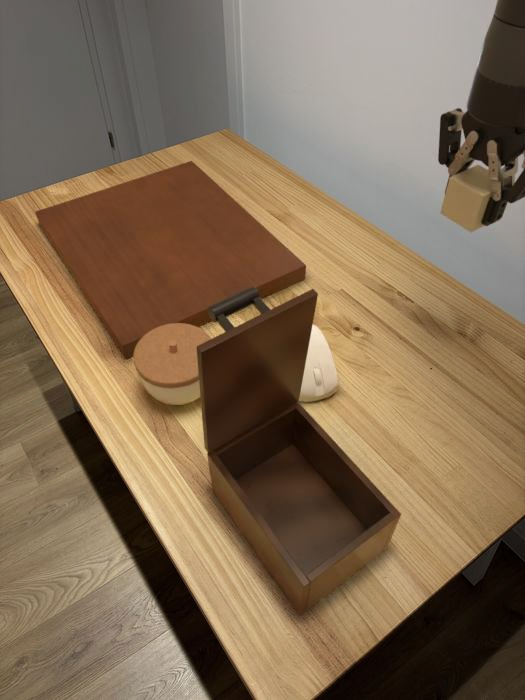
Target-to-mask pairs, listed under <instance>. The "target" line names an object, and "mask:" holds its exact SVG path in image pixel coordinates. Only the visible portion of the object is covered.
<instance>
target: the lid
mask: <svg viewBox="0 0 525 700" xmlns="http://www.w3.org/2000/svg"><path fill="white" fill-rule="evenodd" d="M318 296H319V293H318V292H317V291H316V290H315V289H314V288H311V289H310V290H307V291H305V292H304V293H302V294H299V295H297V296H295V297H293V298H291V299H290V300H287V301H285V302H283V303H281V304H279V305H277V306H275V307H273V308H270V307H269V306H268V305H267V304H266V303H265V302H264V301H263V300H262V299H260V295H259V292H258V291H257V289H256V288H255V287H253V286H252V287H249V288H247V289H245V290H243V291H241V292H239V293H237V294H234V295H232V296H230V297H228V298H226V299H224V300H222V301H219V302H217V303H215V304H213V305H211V306H209V307H208V308H207V311H208V314H209V317H210V318H211V320H212V321H211V322H213V323H218V325H219V326H221V328H222V329H223V330H224V332H223V333H221V334H219V335H217V336H214V337H213V338H212V337H211V339H210V340H208V341H206V342H204V343H202V344H200V345H198V346H197V347H196V348H197V360H198V372H199V384H200V397H199V398H200V407H201V418H202V420H201V421H202V431H203V433H202V434H203V444H204V450H205V451H206V452H207V453H210V452H211V451H213V450H215V449H217V448H218V447H220V446H222V445H223V444H225V443H227V442H228V441H230V440H232V439H234V438H235V437H237V436H239V435H240V434H242V433H244V432H246V431H247V430H249V429H251V428H252V427H254V426H256V425H258V424H259V423H261V422H263V421H264V420H266V419H268V418H269V417H271V416H273V415H275V414H276V413H278V412H280V411H281V410H283V409H285V408H287V407H288V406H290V405H292V404H293V403H295V402H297V401H298V402H300V401H299V397H300V391H301V386H302V380H303V375H304V369H305V364H306V358H307V353H308V347H309V342H310V336H311V331H312V325H314V319H315V314H316V309H317V302H318V298H319V297H318ZM250 306H253V307H254V308H255V309H256V310H257V311H258V312H259V313H260V314H259V315H257V316H254V317H253V318H251V319H249V320H247V321H245V322H242V323H241V324H239V325H237V326H234V324H232V323H231V321H230V319H228V317H230V316H232V315H234V314H236V313H238V312H240V311H242V310H244V309H246V308H249V307H250Z"/></svg>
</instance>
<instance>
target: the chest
mask: <svg viewBox="0 0 525 700" xmlns="http://www.w3.org/2000/svg"><path fill="white" fill-rule="evenodd" d="M206 456H207V463H208V469H209V477H210V483H211V487H212V488H211V490H212V492H213V494H214V496H215V497H216V498H217V499H218V501H219V502H220V504H221V505H222V507H223V508H224V509H225V511H226V513H227V514H228V515H229V517H230V518H231V519H232V521H233V522H234V523H235V525H236V527H237V528H238V530H239V531H240V533H241V534H242V535H243V536H244V538H245V539H246V541H247V542H248V544H249V546H250V547H251V549H253V551H254V553H255V554H256V556H257V557H258V558H259V559H260V561H261V562H262V564H263V565H264V567H265V568H266V570H267V571H268V573H269V574H270V575H271V577H272V578H273V579H274V581H275V582H276V585H278V587H279V588H280V590H281V591H282V593H283V595H285V597H286V598H287V600H288V601H289V602H290V604H291V605H292V607H293V608H294V610H295V611H296V613H297V614H298V615H299V616H302V615H303V614H304V613H306V612H307V611H308V610H309V609H310V608H312V607H313V606H314V605H316V604H317V603H318V602H319V601H321V600H322V599H324V598H325V597H327V596H328V595H329V594H330V593H332V591H334V590H335V589H336V588H338V587H339V586H340V585H342V584H343V583H344V582H346V581H347V580H348V579H349V578H351V577H352V576H353V575H355V574H356V573H357V572H358V571H360V570H361V569H363V568H364V567H365V566H367V565H368V564H369V563H370V562H371V561H373V560H374V559H376V558H377V557H378V556H380V554H382V553H383V552H385V551H386V550H387V549H388V547H389V545H390V543H391V540H392V538H393V535H394V533H395V531H396V528H397V525H398V523H399V520H400V519H401V516H402V513H401V512H400V511H399V510H398V509H397V507H396V506H394V505H393V503H392V502H391V501H390V500H389V499H388V498H387V496H386V495H384V494H383V492H382V491H381V490H380V489H379V488H378V487H377V486H376V485H375V483H374V482H373V481H372V480H370V478H369V477H368V476H367V475H366V474H365V473H364V472H363V471H362V470H361V468H360V467H359V466H358V465H357V464H356V463H355V462H354V461H353V460H352V459H351V457H350V456H349V455H348V454H347V453H346V452H345V451H344V449H342V448H341V447H340V446H339V444H338V443H337V442H336V441H335V440H334V439H333V438H332V436H330V435H329V433H327V431H326V430H325V429H324V428H323V427H322V426H321V424H319V423H318V422H317V420H316V419H315V418H313V416H312V415H311V414H310V413H309V412H308V411H307V409H306V408H305V407H304V406H302V404H301V403H300V401H297V402H295V403H293V404H292V405H290V406H288V407H287V408H285V409H283V410H281V411H280V412H278V413H276V414H275V415H273V416H271V417H269V418H268V419H266V420H264V421H263V422H261V423H259V424H258V425H256V426H254V427H252V428H251V429H249V430H247V431H246V432H244V433H242V434H240V435H239V436H237V437H235V438H234V439H232V440H230V441H228V442H227V443H225V444H223V445H222V446H220V447H218V448H217V449H215V450H213V451H211V452H210V453H208V452H207V453H206Z"/></svg>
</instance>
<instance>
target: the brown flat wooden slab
mask: <svg viewBox="0 0 525 700" xmlns="http://www.w3.org/2000/svg"><path fill="white" fill-rule="evenodd" d="M34 213H35V216H36V218H37V219H36V220H37V221H38V224H39V226H40V228H41V229H42V231H43V232H44V234H45V235H46V237H47V239H48V240H49V241H50V244H51V245H52V247H53V248H54V250H55V251H56V252H57V254H58V256H59V257H60V259H61V261H62V262H63V263H64V266H65V267H66V268H67V269H68V271H69V273H70V274H71V276H72V278H73V279H74V281H75V282H76V283H77V285H78V286H79V288H80V290H81V291H82V293H83V295H84V296H85V298H86V300H87V301H88V302H89V304H90V305H91V307H92V309H93V310H94V312H95V314H96V315H97V316H98V318H99V319H100V321H101V323H102V324H103V326H104V328H105V329H106V330H107V332H108V333H109V335H110V337H111V338H112V340H113V341H114V343H115V344H116V346H117V348H118V349H119V350H120V352H121V353H122V355H123V357H124V358H125V360H128V359H131V358H133V355H134V350H135V347H136V345H137V343H138V342H139V341H140V339H141V338H142V337H143V336H144V335H145V334H147V333H148V332H150V331H151V330H153V329H155V328H157V327H160V326H163V325H166V324H172V323H184V324H190V325H193V326H196V327H198V328H200V327H201V326H204V325H207V324H209V323H211V322H213V321H212V320H211V318H210V317H209V314H208V311H207V308H208V307H209V306H211V305H213V304H215V303H217V302H219V301H222V300H224V299H226V298H228V297H230V296H232V295H234V294H237V293H239V292H241V291H243V290H245V289H247V288H249V287H252V286H253V287H255V288H256V289H257V291H258V292H259V295H260V299H261V300H262V299H264V298H266V297H268V296H270V295H274V294H275V293H277V292H279V291H281V290H284V289H286V288H288V287H291V286H293V285H295V284H297V283H300V282H302V281H304V280H306V276H307V275H306V273H307V265H306V263H304V262H303V261H302V260H301V259H300V258H299V257H298V256H297V255H296V254H294V253H293V251H291V250H290V249H289V248H288V247H287V246H286V245H284V244H283V243H282V242H281V241H280V240H279V239H278V238H277V237H276V236H275V235H274V234H273V233H272V232H271V231H269V230H268V229H267V228H266V227H265V226H264V225H263V224H262V223H261V222H260V221H259V220H257V219H256V218H255V217H254V216H253V215H252V214H251V213H250V212H248V211H247V210H246V209H245V208H244V207H243V206H242V205H241V204H240V203H239V202H237V201H236V200H235V198H233V197H232V196H231V195H230V194H229V193H228V192H227V191H226V190H224V189H223V188H222V186H220V185H219V184H218V183H217V182H216V181H215V180H213V179H212V178H211V177H210V176H209V175H208V174H207V173H206V172H205V171H204V170H203V169H202V168H200V167H199V166H198V165H197V164H196V163H195V162H194V161H193V160H190V161H186V162H183V163H181V164H178V165H174V166H171V167H168V168H164V169H162V170H159V171H155V172H153V173H149V174H146V175H144V176H140V177H138V178H135V179H131V180H128V181H125V182H122V183H119V184H116V185H113V186H110V187H107V188H103V189H101V190H98V191H93V192H91V193H88V194H85V195H82V196H79V197H76V198H73V199H70V200H67V201H64V202H60V203H57V204H54V205H52V206H51V205H50V206H47V207H45V208H41V209H39V210H36V211H35V212H34Z"/></svg>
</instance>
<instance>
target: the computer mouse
mask: <svg viewBox="0 0 525 700" xmlns="http://www.w3.org/2000/svg"><path fill="white" fill-rule="evenodd" d="M338 388H339V377H338V372H337V367H336V364H335V361H334V357H333V354H332V352H331V349H330V346H329V344H328V341H327V339H326V337H325V336H324V334H323V331H322V330H321V329H320V328H319V327H318V326H317V325H316V324H313V325H312V331H311V336H310V342H309V347H308V353H307V358H306V364H305V369H304V375H303V380H302V386H301V391H300V397H299V401H298V402H304V403H310V402H317V401H321V400H325V399H327V398H330V397H331V396H333V395H334V394H335V393H336V392H337V391H338Z"/></svg>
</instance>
